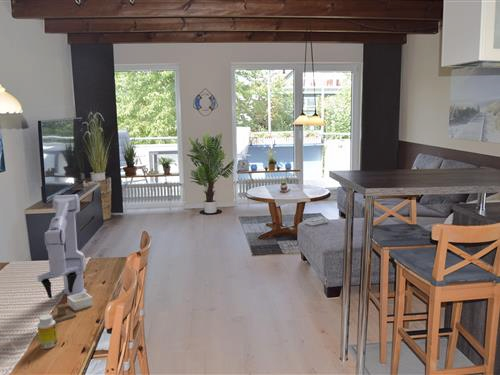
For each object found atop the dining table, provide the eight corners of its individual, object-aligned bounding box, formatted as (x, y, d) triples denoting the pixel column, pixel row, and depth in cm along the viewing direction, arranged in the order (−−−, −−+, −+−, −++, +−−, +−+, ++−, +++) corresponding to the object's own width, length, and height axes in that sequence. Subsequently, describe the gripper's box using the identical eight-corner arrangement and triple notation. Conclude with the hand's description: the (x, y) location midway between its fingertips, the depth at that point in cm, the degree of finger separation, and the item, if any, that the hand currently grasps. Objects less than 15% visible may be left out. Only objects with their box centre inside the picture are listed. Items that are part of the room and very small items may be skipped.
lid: (48, 316, 177) (47, 305, 176) (69, 310, 182) (68, 299, 181) (55, 322, 171) (54, 311, 170) (76, 316, 176) (75, 305, 175)
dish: (67, 305, 187) (67, 296, 186) (85, 300, 191) (85, 291, 191) (74, 311, 181) (73, 302, 180) (92, 306, 186) (92, 296, 185)
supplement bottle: (58, 346, 154) (55, 318, 152) (40, 350, 151) (36, 322, 150) (57, 339, 159) (54, 312, 157) (39, 343, 156) (36, 315, 155)
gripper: (40, 267, 165) (43, 303, 167) (80, 258, 174) (83, 292, 176) (34, 263, 170) (38, 297, 172) (73, 254, 180) (76, 287, 182)
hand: (60, 294), depth 175 cm, fingers open, 7 cm apart
